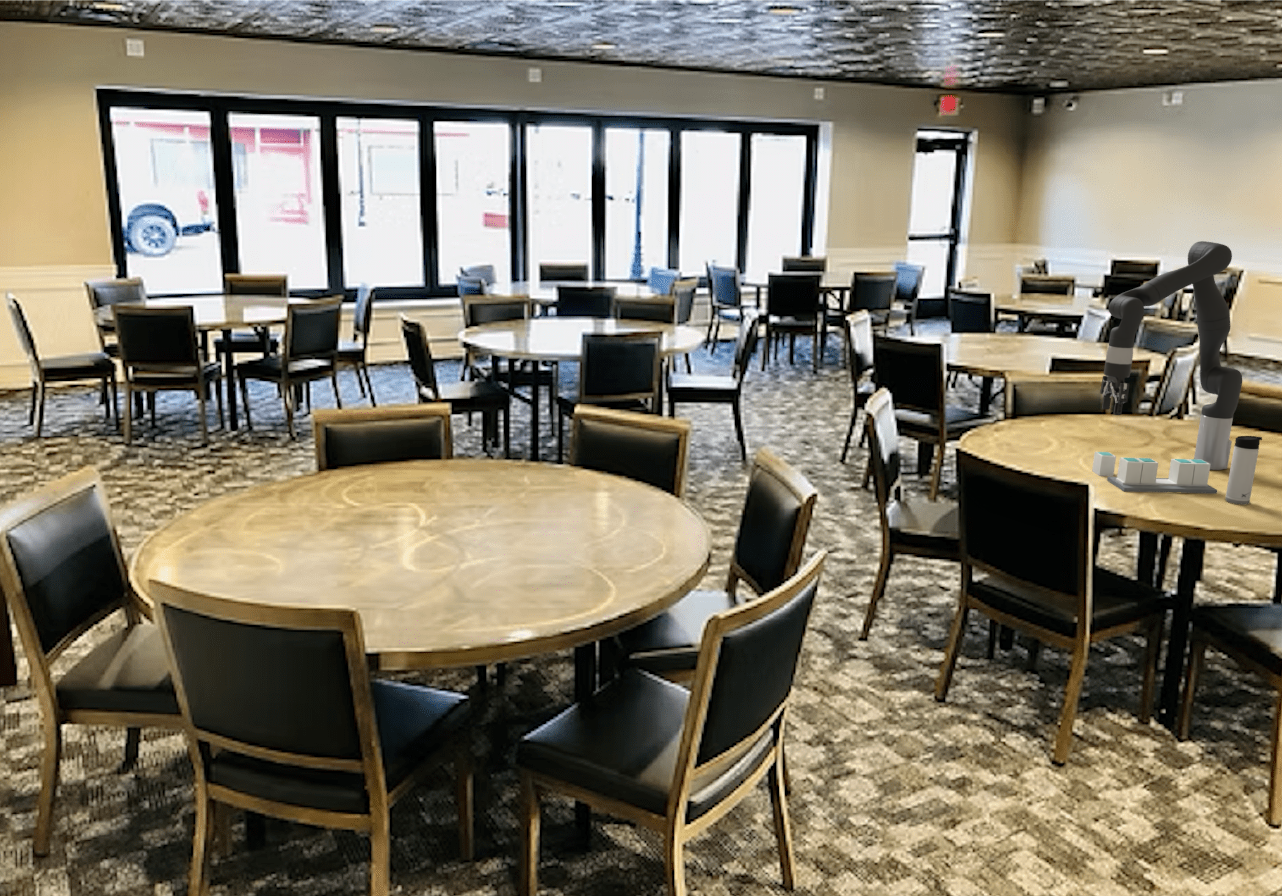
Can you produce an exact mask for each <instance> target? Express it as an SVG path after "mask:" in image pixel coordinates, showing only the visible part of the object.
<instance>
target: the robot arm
mask: <svg viewBox="0 0 1282 896" xmlns="http://www.w3.org/2000/svg"><path fill="white" fill-rule="evenodd" d="M1232 258H1233V253H1232V250H1231V249H1230V247H1229V246H1227V245H1225V244H1223V243H1219V242H1218V243H1217V242H1212V241H1204V240H1202V241H1197V242H1195V243H1193V244H1192V245H1191V246H1190V248H1189V250H1188V254H1187V265H1186V266H1183V267H1180V268H1177V269H1174V270H1171V271H1167V272H1165V273H1162V274H1159V275H1157V276H1156V277H1153V278H1152V279H1150V280H1148V281H1147V282H1145V283H1143V284H1142V285H1140V286H1138V287H1134V288H1133V289H1130V290H1127V291H1125V292H1122V293H1120V294H1118V295H1116V296H1115V297H1114V298H1113V299H1112V300H1111V301H1110V302H1109V305H1108V312H1109V313H1110V315H1111V316H1112V317H1114V318H1116V319H1119V320H1120V319H1121V321H1120V323H1119V325H1118V326H1115V327H1113V328H1111V330H1110V333H1109V341H1108V345H1107V350H1106V354H1105V355H1106V357H1105V362H1104V370H1103V375H1102V379H1101V380H1102V381H1101V385H1100V391H1099V393H1100V395H1102V405H1101V409H1102V410H1109V409H1110V407H1111V402H1112V397H1113V398H1114V407H1113V415H1115V416H1121V415H1122V413H1123V405H1124V404H1125V403H1128V401H1129V400H1128V399H1129V392H1130V383H1128V382H1125V379H1126V378H1130V376H1131V371H1132V364H1133V357H1134V345H1135V337H1136V334H1137V332H1138V329H1139V326H1140V324H1141V322H1142V320H1143V316H1144V313H1145V307H1152V306H1155V305H1156V304H1158V303H1159V302H1161V301H1163V300H1165V299H1166V298H1167V297H1170V296H1171V295H1172V294H1175V293H1176V292H1178V291H1181V290H1183V289H1184V288H1186V287H1189V286H1191V285H1192V287H1193V288H1192V289H1193V296H1194V302H1195V309H1196V310H1195V312H1196V321H1197V322H1196V323H1197V331H1198V340H1199V342H1198V343H1199V352H1200V353H1199V354H1200V355H1199V356H1200V359H1199V360H1200V361H1199V363H1200V364H1199V365H1200V366H1199V372H1200V373H1199V380H1200V386H1201V388H1202V391H1204V392H1205V393H1208V394H1210V395H1211V394H1212V395H1216V396H1217V397H1216V401H1214V403H1209V404H1205V405H1203V406H1202V407H1201V413H1200V417H1199V418H1200V419H1199V426H1198V432H1197V436H1196V438H1197V439H1196V444H1195V449H1194V450H1195V451H1194V456H1193V459H1201V460H1203V461H1205V462H1207V463H1209V464H1211V465H1210V470H1212V471H1213V470H1214V471H1221V470H1227V469H1228V467H1229V459H1230V454H1231V449H1232V442H1233V441H1232V440H1231V439H1230V436H1231V431H1232V424H1233V419H1234V415H1235V414H1234V413H1235V412H1236V410H1237V407H1238V403H1239V400H1240V395H1241V391H1242V387H1243V376H1242V373H1241V371H1240V370H1239V369H1235V368H1231V367H1226V366H1223V365H1221V362H1220V361H1221V359H1220V351H1221V348H1222V346H1223V344H1224V343H1225V341H1226V340H1227V338H1228V336H1229V334H1230V332H1231V326H1232V325H1231V314H1230V308H1229V306H1228V304H1227V301H1226V299H1225V298H1224V296H1223V294H1222V293H1221V291H1220V289H1219V288H1218V286H1217V283H1216V280H1215V275H1217V274H1219V273H1221V272H1223V271H1225V270H1226V269H1227V268H1228V267H1229V266H1230V264H1231V263H1232V260H1233V259H1232Z"/></svg>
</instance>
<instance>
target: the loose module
mask: <svg viewBox="0 0 1282 896" xmlns="http://www.w3.org/2000/svg"><path fill="white" fill-rule="evenodd" d="M1116 459H1117V456H1116V455H1115V454H1112V452H1110V451H1094V454H1093V462H1092V472H1093V473H1094V474H1096V475H1097V476H1099V477H1114V474H1115V468H1116V467H1115V466H1116Z"/></svg>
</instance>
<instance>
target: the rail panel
mask: <svg viewBox="0 0 1282 896" xmlns="http://www.w3.org/2000/svg"><path fill="white" fill-rule="evenodd" d="M1210 465H1211V464H1209V463H1207V462H1205V461H1203V460H1201V459H1194V458H1192V459H1191V458H1189V459H1188V458H1171V459H1170V464H1169V469H1168V470H1169V471H1168V477H1157V475H1158V469H1159V462H1158V461H1156V460H1154V459H1152V458H1150V457H1119V461H1118V469H1117V475H1116V476H1106V477H1107V478H1106V481H1107V482H1108V483H1110V484H1112V485H1113V486H1115V487H1116V488H1118V489H1119V490H1121V491H1122V492H1134V493H1167V492H1181V493H1180V494H1213V495H1214V494H1215V495H1217V494H1218V489H1216V488H1214V487H1213V486H1211V485H1209V484H1208V482H1209V476H1210V470H1211V469H1210Z"/></svg>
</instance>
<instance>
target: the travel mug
mask: <svg viewBox="0 0 1282 896" xmlns="http://www.w3.org/2000/svg"><path fill="white" fill-rule="evenodd" d="M1262 440H1263V437H1262V436H1257V435H1255V436H1254V435H1238V436H1237V437H1236V438H1235V441H1234V447H1233V450H1232V457H1231V463H1230V469H1229V474H1228V479H1227V480H1228V481H1227V486H1226V487H1227V488H1226V493H1225V499H1224V500H1225V501H1226V502H1228V503H1230V504H1233V503H1234V505H1239V504H1240V505H1241V506H1242V505H1244V506H1245V504H1246V505H1249V504H1250V501H1251V495H1252V491H1253V484H1254V477H1255V474H1256V473H1255V472H1256V466H1257V462H1258V455H1259V450H1260V443H1261V442H1260V441H1262Z"/></svg>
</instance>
